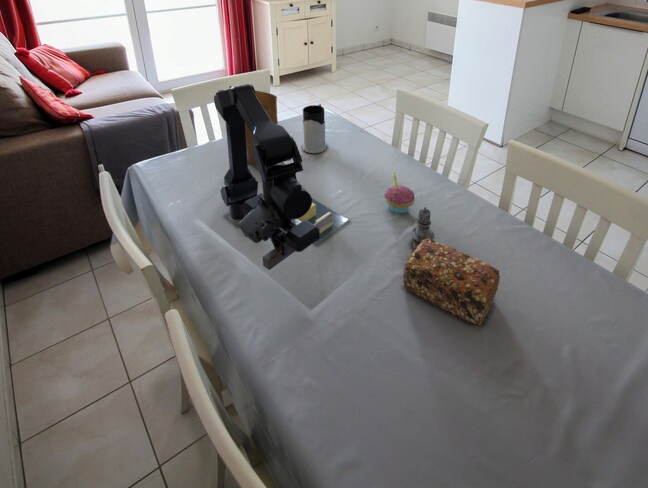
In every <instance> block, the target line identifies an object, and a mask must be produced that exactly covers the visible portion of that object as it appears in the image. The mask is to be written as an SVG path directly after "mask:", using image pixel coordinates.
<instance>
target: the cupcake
mask: <svg viewBox="0 0 648 488" xmlns="http://www.w3.org/2000/svg"><path fill="white" fill-rule="evenodd" d="M393 180H394V185H391V186H390V187H389V188H387V189H386V190H385V192H384V199H385V201H386V204H387V205H388V206H389V209H390V210H391V211H393V212H395V213H397V214H402V213H404V214H406V213H407V212H408V209H409V208H410V207H412V206H413V205H414V204H415V200H416V198H415V193H414V191H413V190H412V189H411V188H410V187H407V186H405V185H402V184H398V180H397V174H396V172H393Z"/></svg>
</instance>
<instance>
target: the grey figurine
mask: <svg viewBox="0 0 648 488" xmlns="http://www.w3.org/2000/svg"><path fill="white" fill-rule="evenodd" d="M416 224H417V225H416V227H414V228H413V229H412V230H410V231H411V232H410V235H411V238H412V241H411V244H410V245H411V248H412V250H413V249H414V248H415V247H416V246H418V245H419V244H420V243H421V241H422V240H425V239H431V240H434V239H435V233H434V231H433V230H432V229H431V228H430V226H431V225H432V221H431V211H430V210H429V208H427V207H426V206H424V207H423V208H420V209H419V210H418V218H417V219H416Z"/></svg>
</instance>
